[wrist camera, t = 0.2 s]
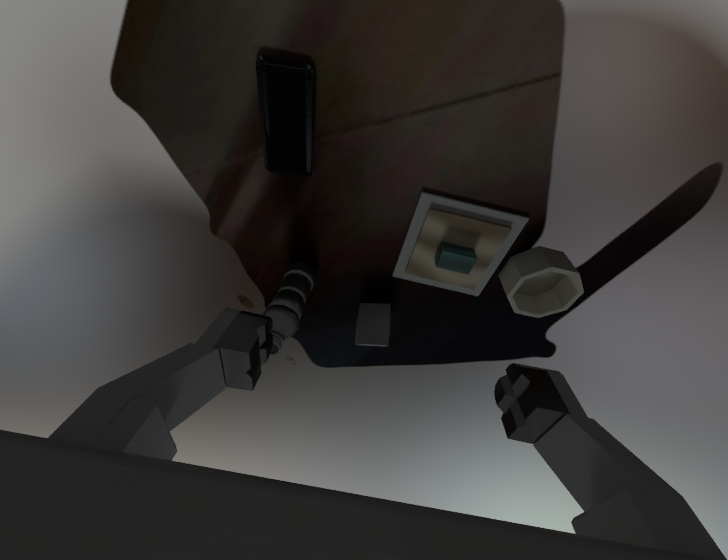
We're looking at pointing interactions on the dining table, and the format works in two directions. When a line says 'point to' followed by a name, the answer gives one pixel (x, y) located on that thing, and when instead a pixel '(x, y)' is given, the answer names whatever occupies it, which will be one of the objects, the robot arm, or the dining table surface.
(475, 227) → the board
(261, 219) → the dining table surface
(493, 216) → the mat
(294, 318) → the plastic bottle
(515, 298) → the bowl
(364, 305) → the dark grey block
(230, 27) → the dining table surface
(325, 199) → the dining table surface
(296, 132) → the phone
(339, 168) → the dining table surface
